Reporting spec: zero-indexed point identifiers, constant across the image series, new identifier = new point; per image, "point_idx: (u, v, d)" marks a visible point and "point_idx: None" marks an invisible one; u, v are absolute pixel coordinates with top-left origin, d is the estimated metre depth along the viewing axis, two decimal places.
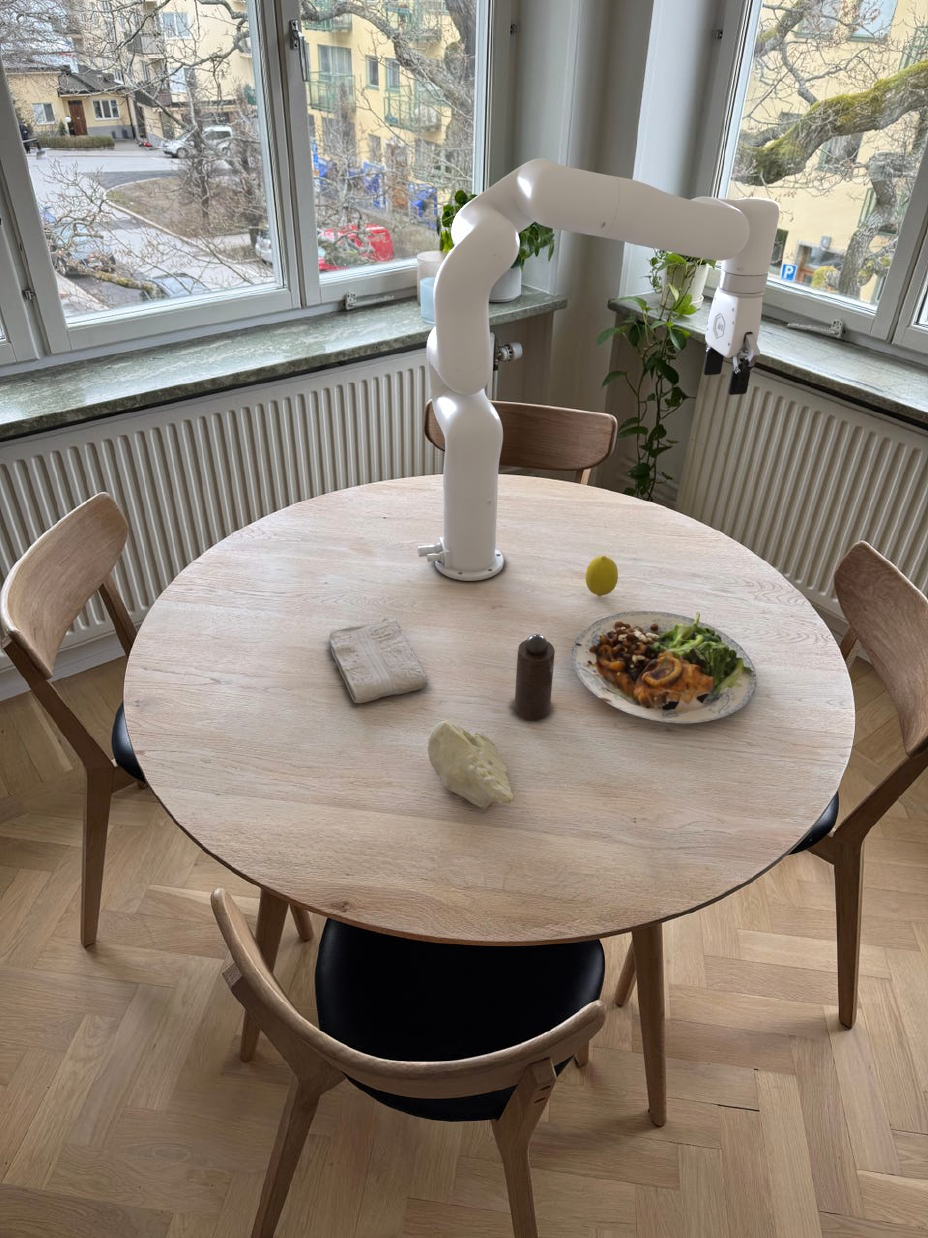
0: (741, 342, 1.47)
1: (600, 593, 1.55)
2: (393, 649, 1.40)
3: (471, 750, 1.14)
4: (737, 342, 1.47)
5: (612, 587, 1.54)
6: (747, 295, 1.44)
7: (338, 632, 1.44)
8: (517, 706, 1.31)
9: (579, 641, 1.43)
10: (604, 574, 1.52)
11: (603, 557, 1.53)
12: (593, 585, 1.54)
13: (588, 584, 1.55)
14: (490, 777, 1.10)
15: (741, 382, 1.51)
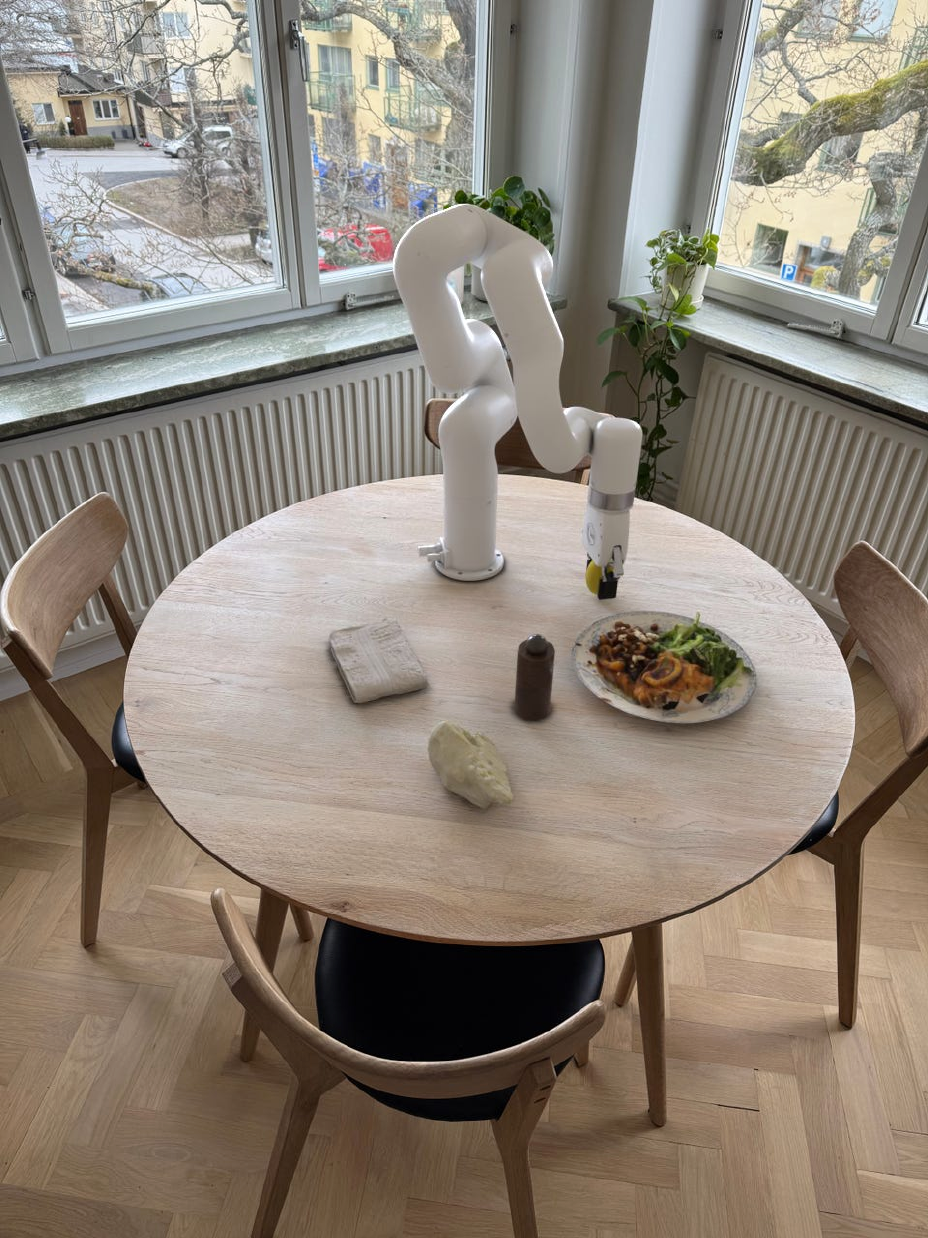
0: (610, 555, 1.47)
1: None
2: (393, 649, 1.40)
3: (471, 750, 1.14)
4: (606, 555, 1.47)
5: None
6: (613, 512, 1.44)
7: (338, 632, 1.44)
8: (517, 706, 1.31)
9: (579, 641, 1.43)
10: None
11: None
12: (593, 585, 1.54)
13: (588, 584, 1.55)
14: (490, 777, 1.10)
15: (609, 589, 1.52)
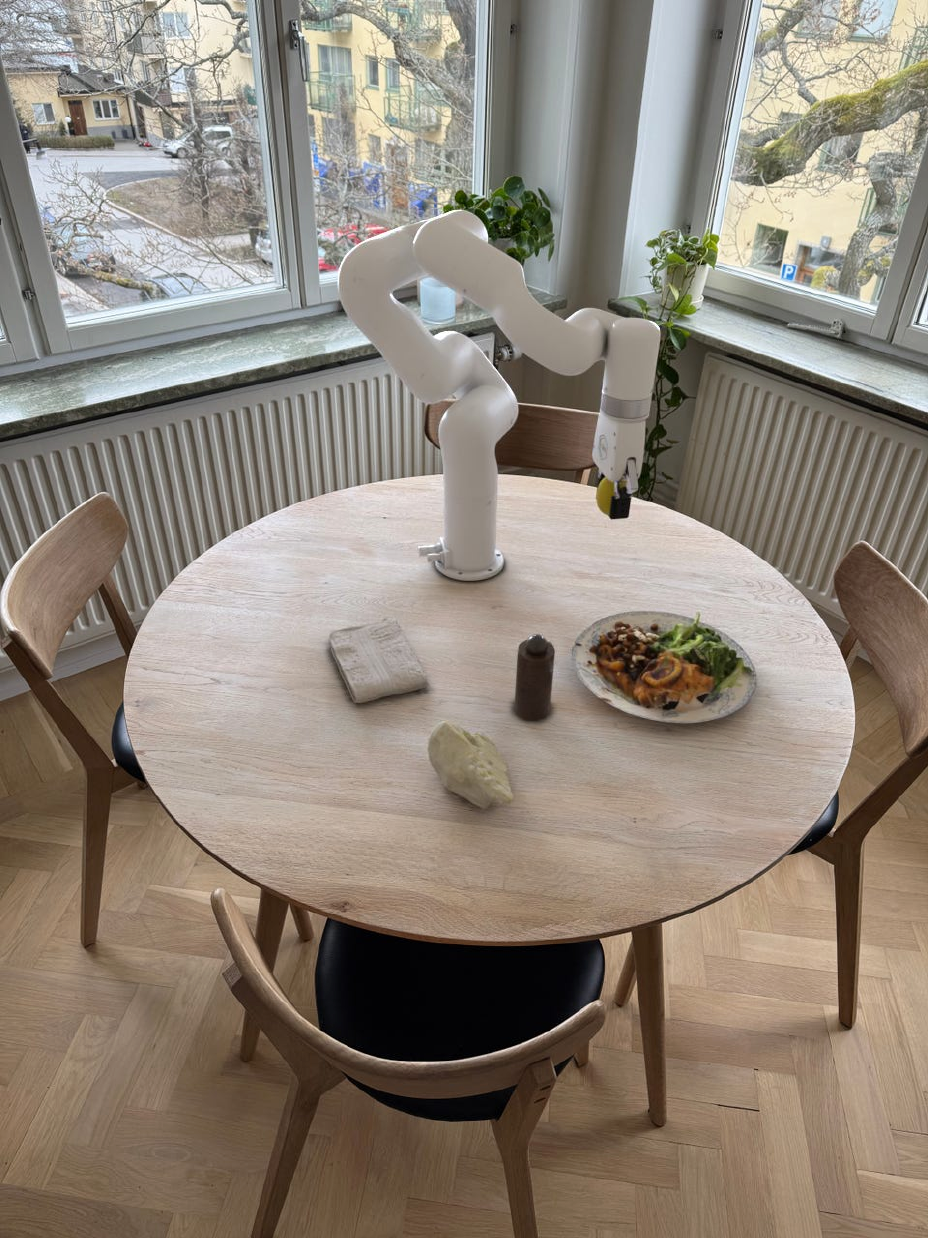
0: (624, 468, 1.38)
1: None
2: (393, 649, 1.40)
3: (471, 750, 1.14)
4: (619, 467, 1.38)
5: None
6: (628, 420, 1.35)
7: (338, 632, 1.44)
8: (517, 706, 1.31)
9: (579, 641, 1.43)
10: None
11: None
12: (605, 504, 1.45)
13: (599, 504, 1.46)
14: (490, 777, 1.10)
15: (621, 508, 1.43)
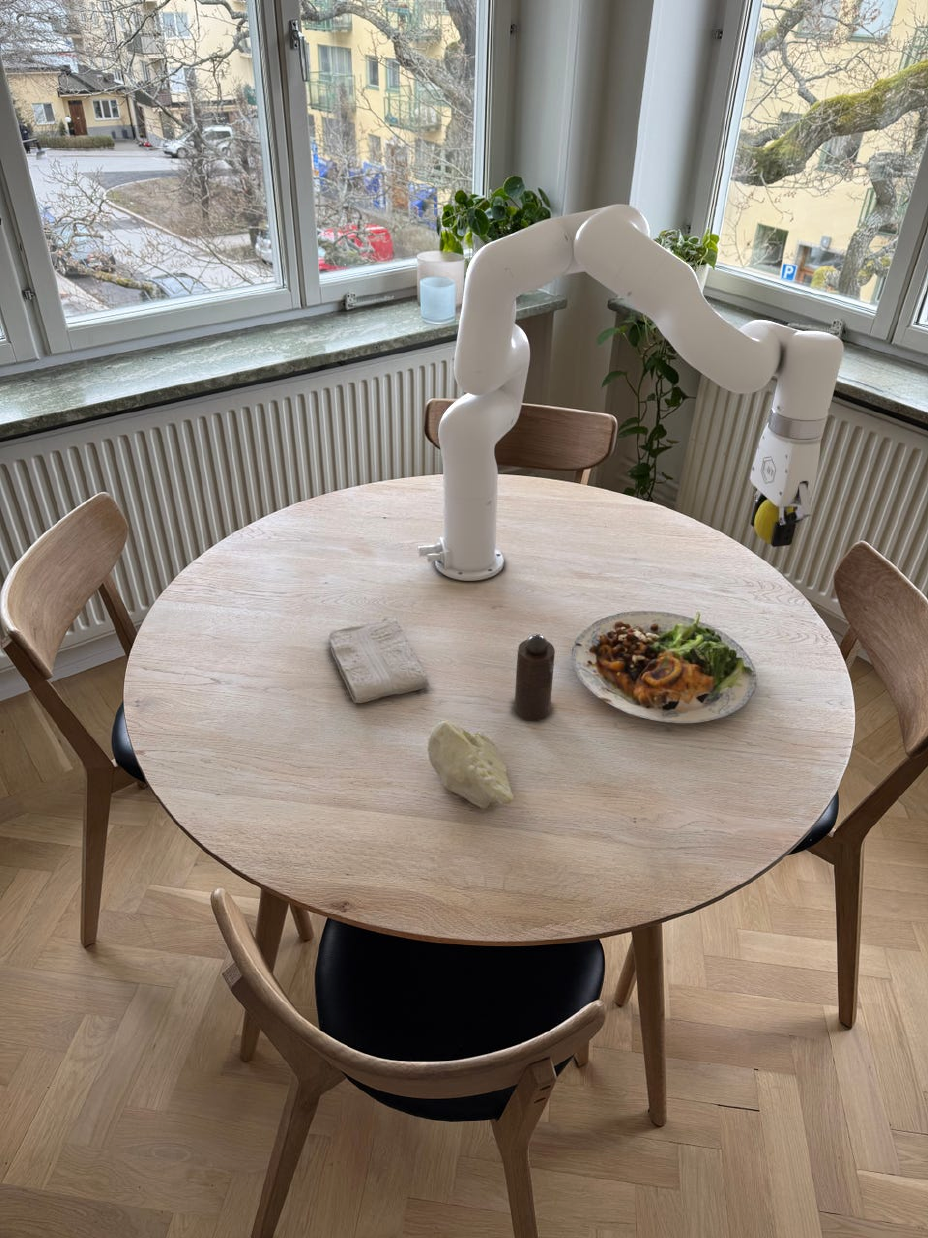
0: (795, 492, 1.28)
1: None
2: (393, 649, 1.40)
3: (471, 750, 1.14)
4: (790, 492, 1.28)
5: None
6: (803, 441, 1.25)
7: (338, 632, 1.44)
8: (517, 706, 1.31)
9: (579, 641, 1.43)
10: None
11: None
12: (766, 530, 1.35)
13: (759, 530, 1.36)
14: (490, 777, 1.10)
15: (786, 534, 1.33)
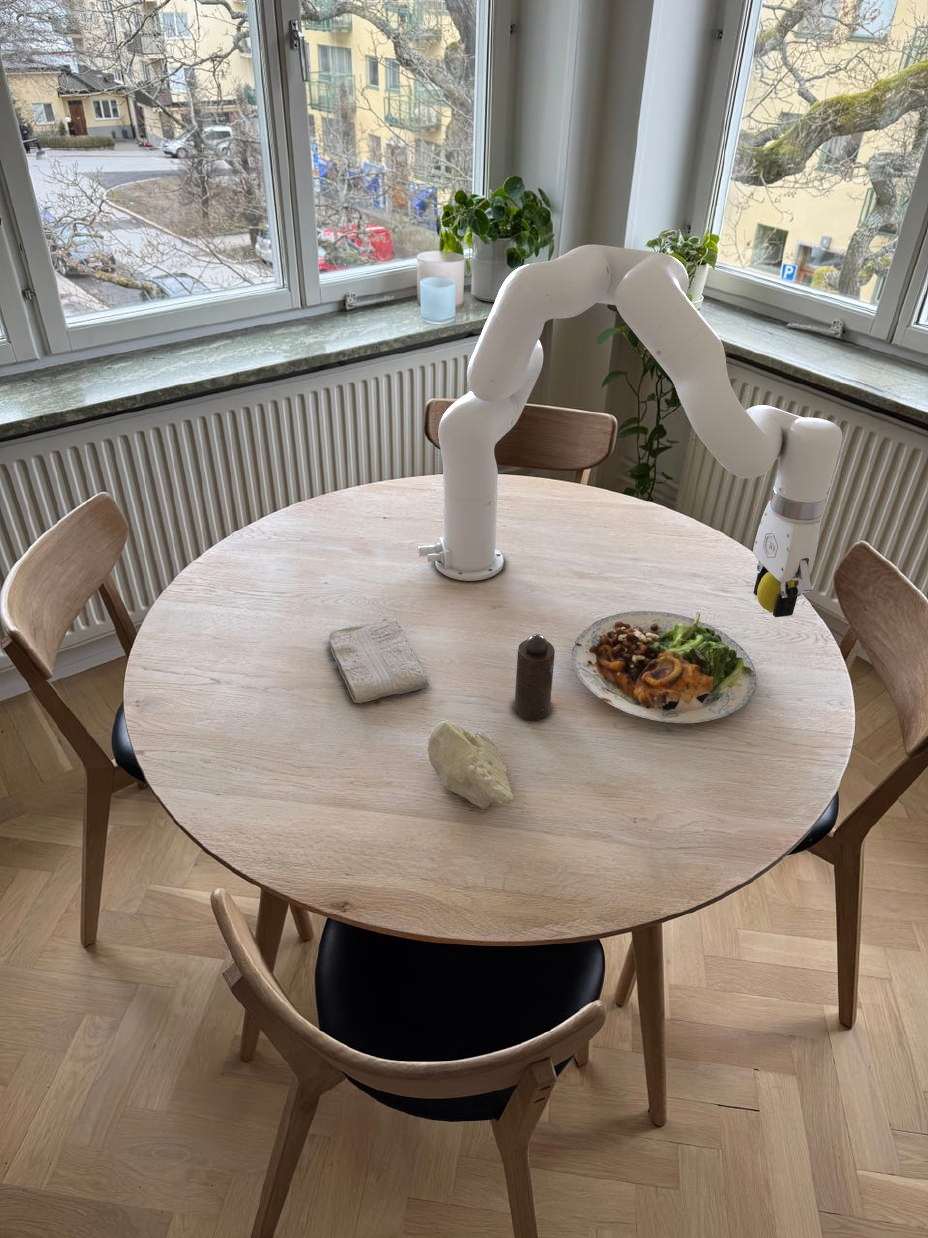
0: (796, 569, 1.34)
1: None
2: (393, 649, 1.40)
3: (471, 750, 1.14)
4: (791, 569, 1.33)
5: None
6: (804, 521, 1.31)
7: (338, 632, 1.44)
8: (517, 706, 1.31)
9: (579, 641, 1.43)
10: None
11: None
12: (768, 601, 1.40)
13: (761, 600, 1.42)
14: (490, 777, 1.10)
15: (787, 606, 1.39)
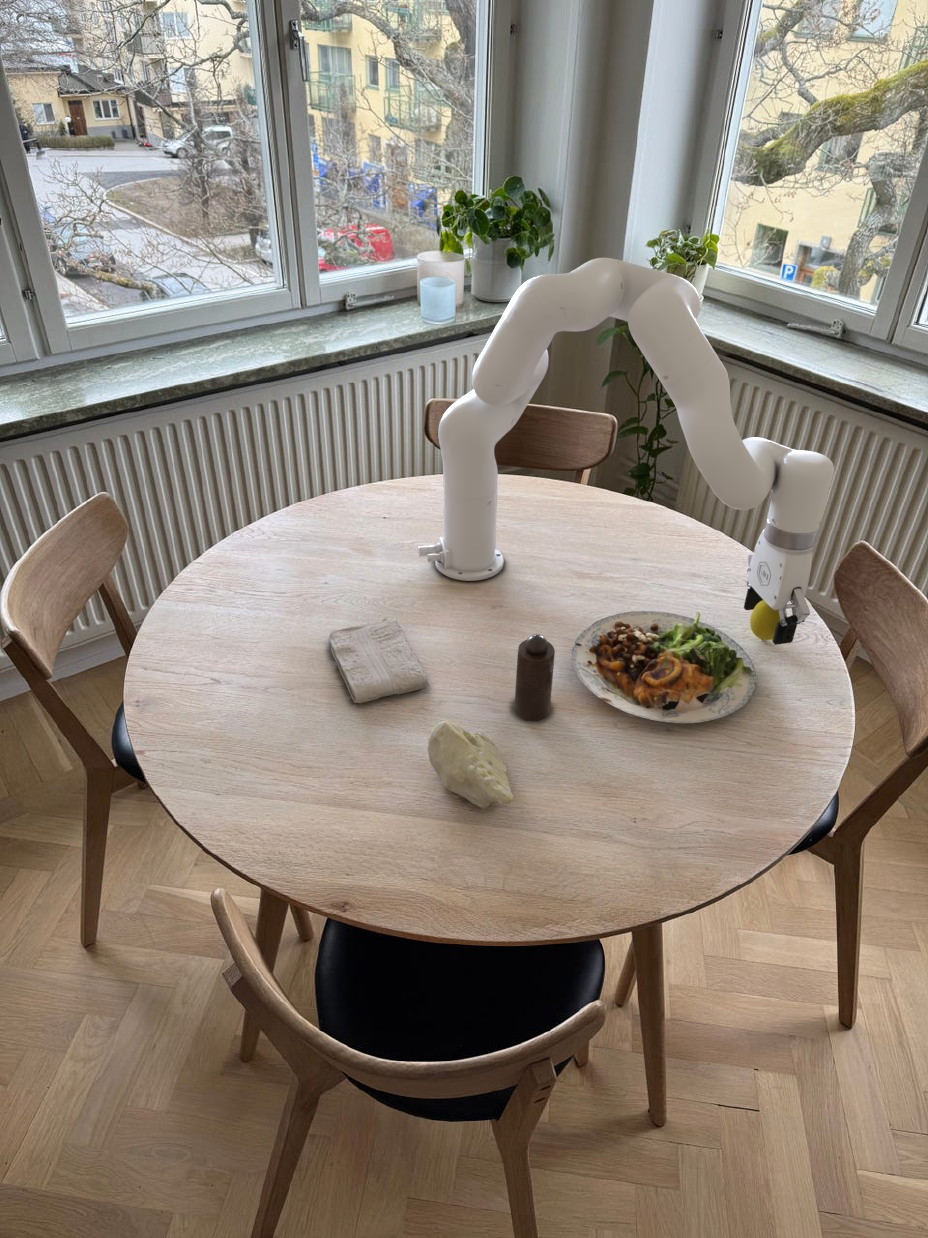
0: (789, 597, 1.36)
1: (767, 638, 1.45)
2: (393, 649, 1.40)
3: (471, 750, 1.14)
4: (784, 597, 1.36)
5: None
6: (796, 551, 1.34)
7: (338, 632, 1.44)
8: (517, 706, 1.31)
9: (579, 641, 1.43)
10: (775, 619, 1.42)
11: None
12: (761, 630, 1.44)
13: (754, 629, 1.45)
14: (490, 777, 1.10)
15: (787, 634, 1.40)
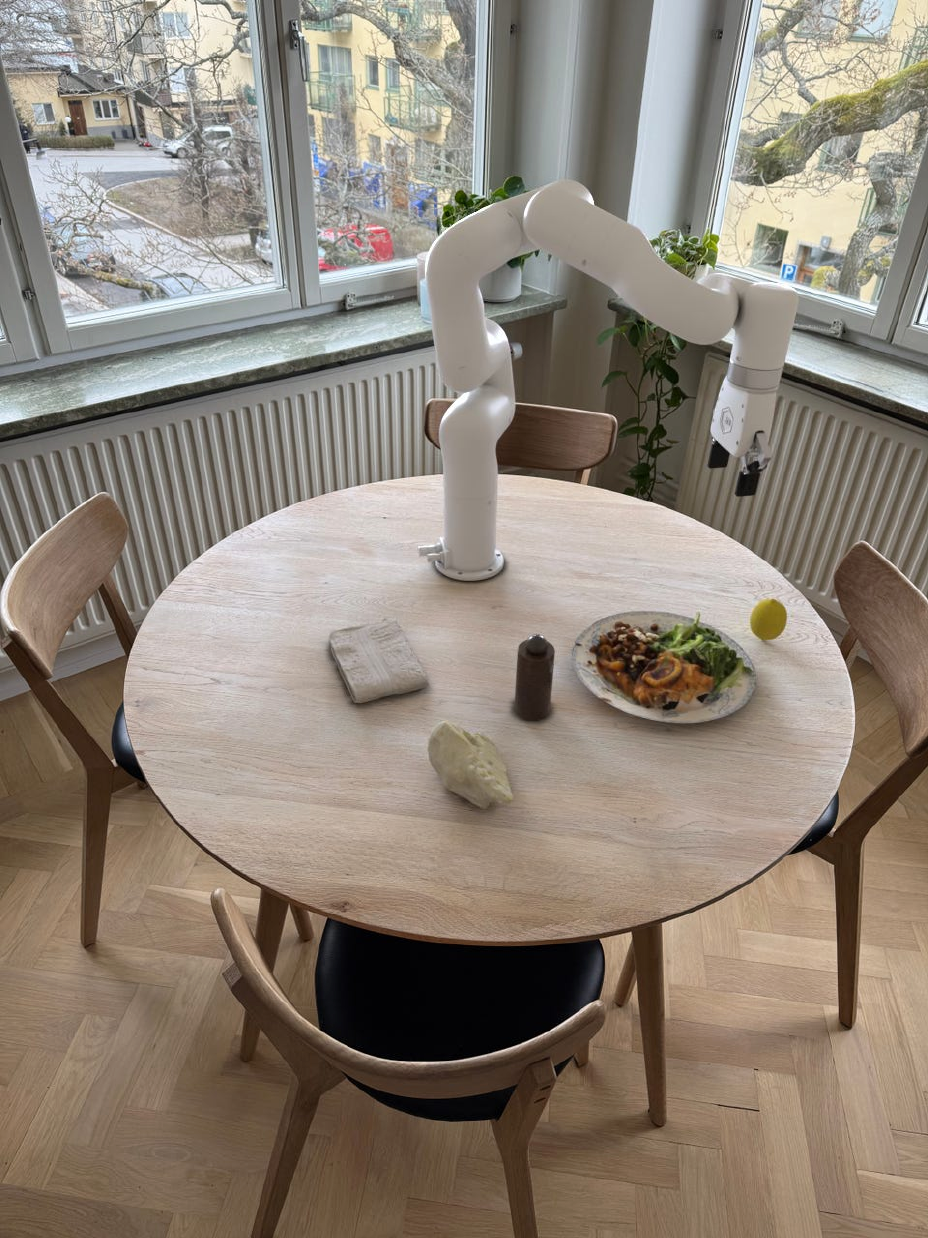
0: (751, 442, 1.31)
1: (767, 638, 1.45)
2: (393, 649, 1.40)
3: (471, 750, 1.14)
4: (746, 441, 1.31)
5: (781, 632, 1.44)
6: (759, 391, 1.28)
7: (338, 632, 1.44)
8: (517, 706, 1.31)
9: (579, 641, 1.43)
10: (775, 619, 1.42)
11: (773, 600, 1.43)
12: (761, 630, 1.44)
13: (754, 629, 1.45)
14: (490, 777, 1.10)
15: (749, 484, 1.34)
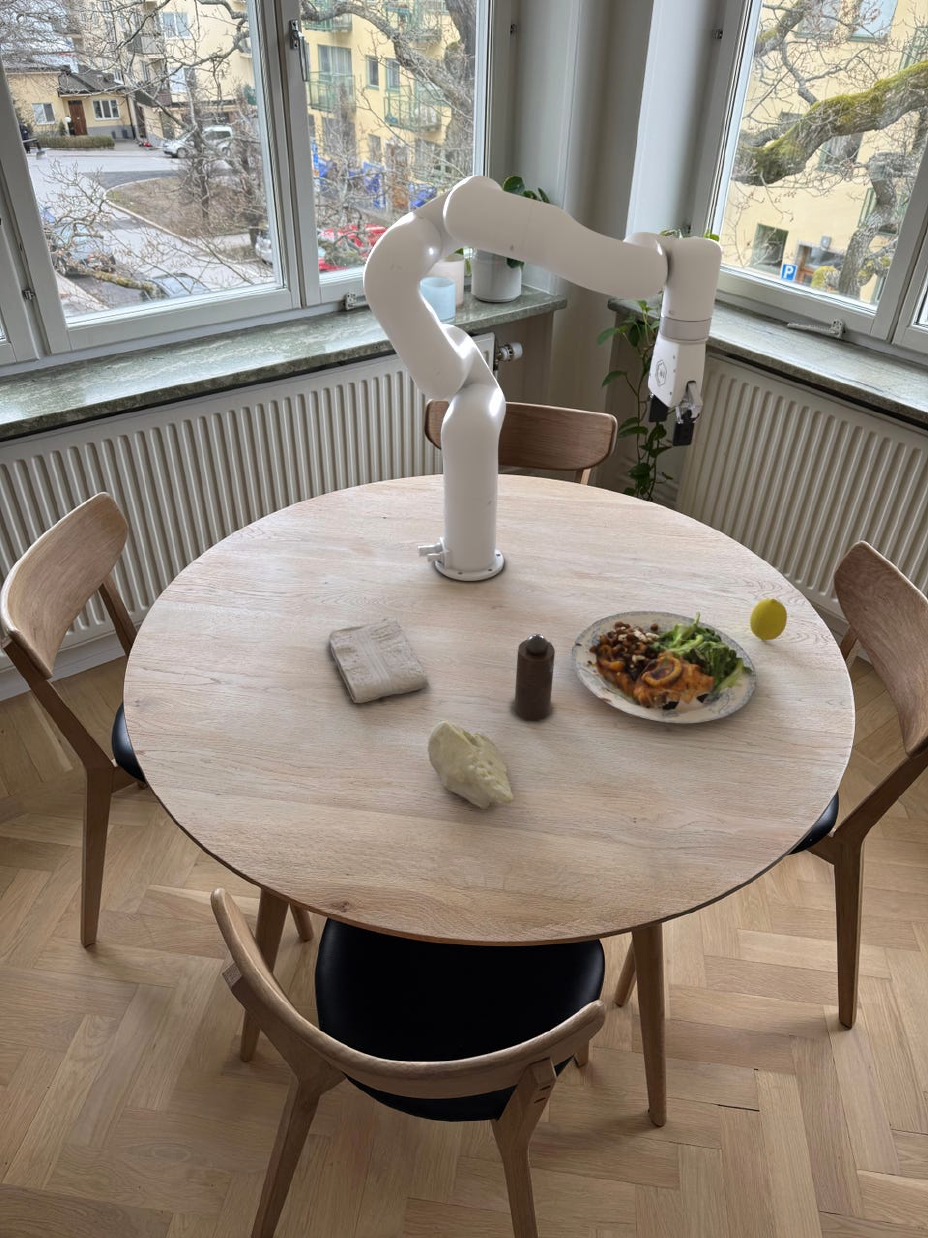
0: (684, 392, 1.37)
1: (767, 638, 1.45)
2: (393, 649, 1.40)
3: (471, 750, 1.14)
4: (679, 391, 1.36)
5: (781, 632, 1.44)
6: (688, 342, 1.34)
7: (338, 632, 1.44)
8: (517, 706, 1.31)
9: (579, 641, 1.43)
10: (775, 619, 1.42)
11: (773, 600, 1.43)
12: (761, 630, 1.44)
13: (754, 629, 1.45)
14: (490, 777, 1.10)
15: (685, 433, 1.40)
